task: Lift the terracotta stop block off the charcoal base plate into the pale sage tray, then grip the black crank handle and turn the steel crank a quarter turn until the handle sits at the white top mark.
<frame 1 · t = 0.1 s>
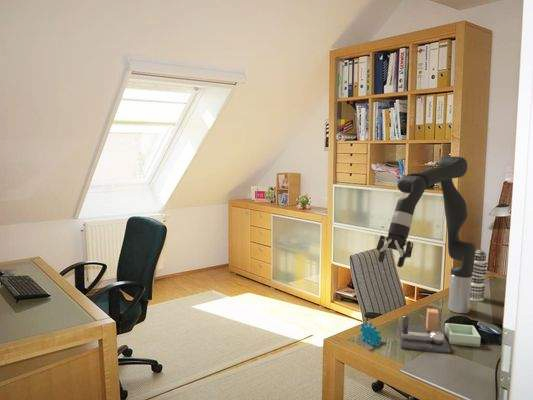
hand: (389, 264, 170), 31 cm above the table, tool tilted 20°, fingers open, 8 cm apart
stop block: (431, 328, 183), point 2 cm above the table, touching base plate
crank: (423, 328, 172), point 6 cm above the table, hinge at 0.0°
decorative candle: (474, 298, 226), on the table
tray: (461, 339, 177), on the table
gear: (370, 343, 173), on the table
base plate: (421, 339, 177), on the table
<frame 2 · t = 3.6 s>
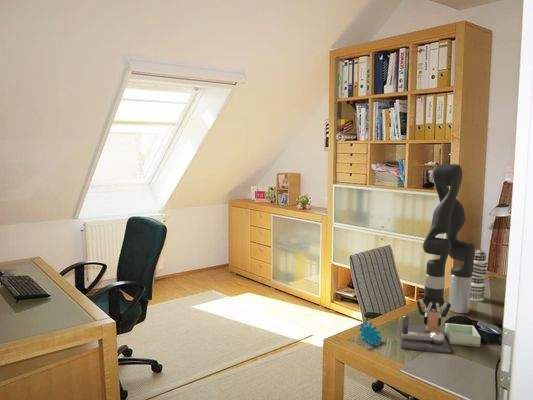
hand: (431, 324, 183), 3 cm above the table, tool pointing down, fingers closed on stop block, 4 cm apart
stop block: (431, 328, 183), point 2 cm above the table, touching base plate, gripper
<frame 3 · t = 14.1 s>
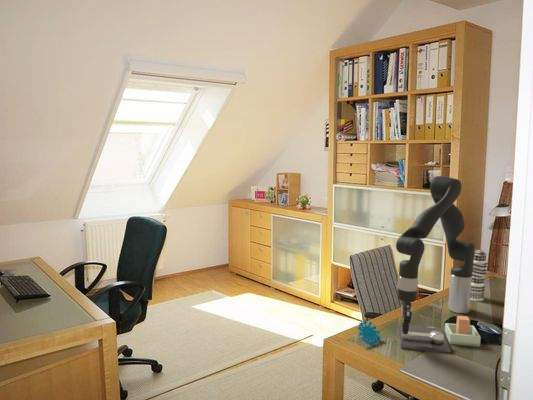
hand: (405, 329, 174), 5 cm above the table, tool pointing down, fingers closed on crank, 2 cm apart
stop block: (462, 336, 177), point 1 cm above the table, touching tray
crank: (423, 328, 172), point 6 cm above the table, hinge at 0.1°, touching gripper
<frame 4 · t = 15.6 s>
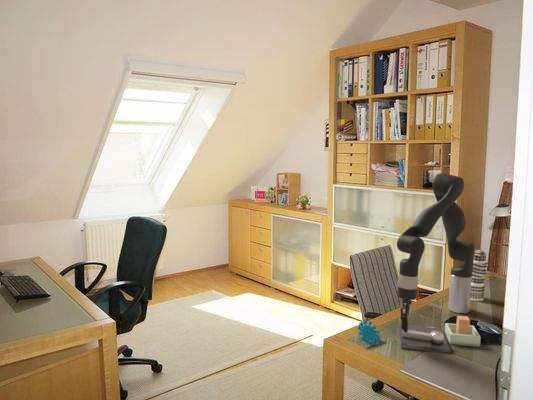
hand: (404, 327, 175), 5 cm above the table, tool pointing down, fingers closed on crank, 2 cm apart
crank: (422, 327, 173), point 6 cm above the table, hinge at -9.2°, touching gripper
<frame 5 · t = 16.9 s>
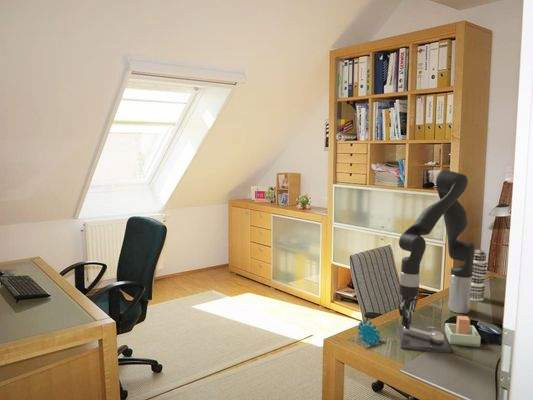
hand: (406, 324, 178), 5 cm above the table, tool pointing down, fingers closed on crank, 2 cm apart
crank: (423, 326, 174), point 6 cm above the table, hinge at -25.9°, touching gripper
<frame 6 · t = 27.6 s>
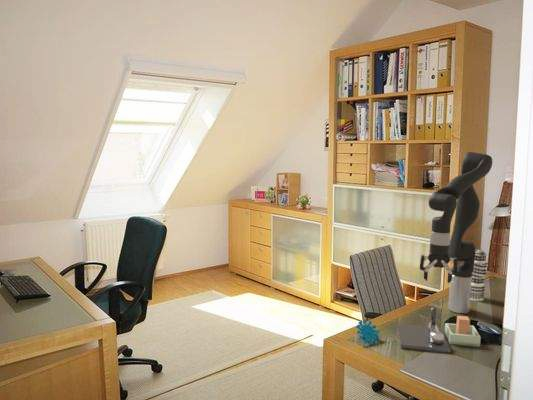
hand: (437, 281, 180), 22 cm above the table, tool pointing down, fingers open, 8 cm apart
crank: (435, 324, 176), point 6 cm above the table, hinge at -91.8°
at the end: stop block inside the target area on the tray (0.1 cm from its centre), point 1.0 cm above the tray's base; crank at -92° (first picture: +0°); the gripper is holding nothing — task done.
